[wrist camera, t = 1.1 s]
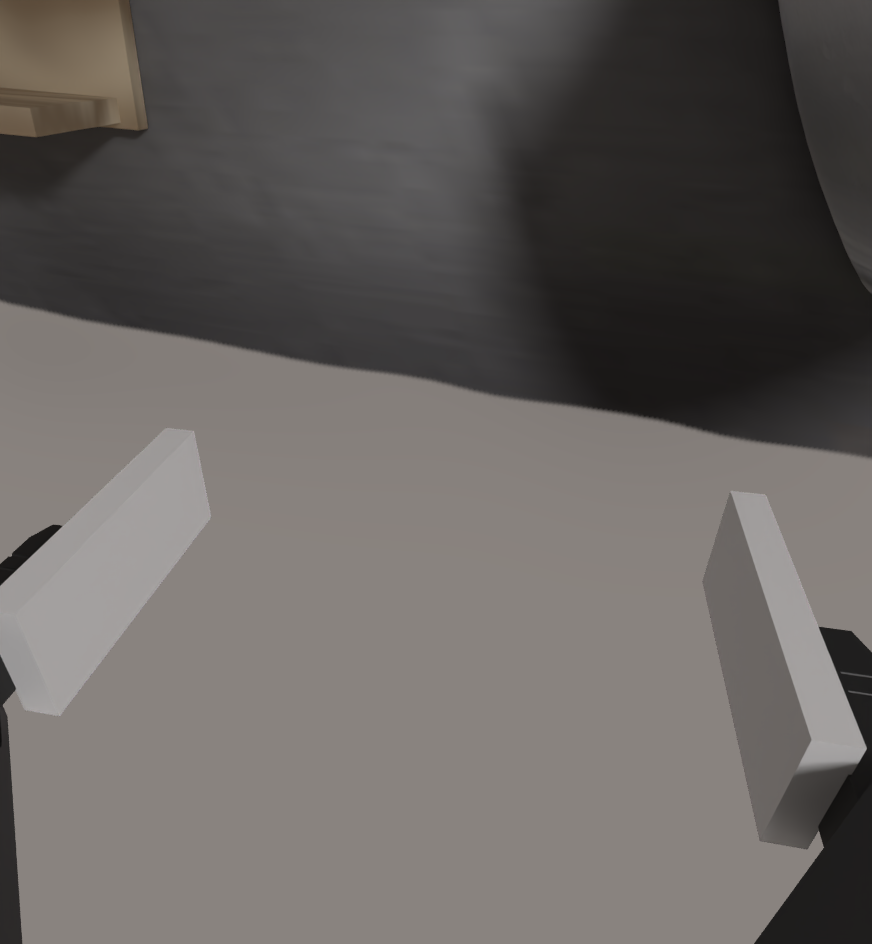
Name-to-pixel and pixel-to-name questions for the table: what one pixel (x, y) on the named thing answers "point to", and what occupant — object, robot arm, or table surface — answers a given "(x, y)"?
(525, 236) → the table surface
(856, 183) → the toaster
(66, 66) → the holder
